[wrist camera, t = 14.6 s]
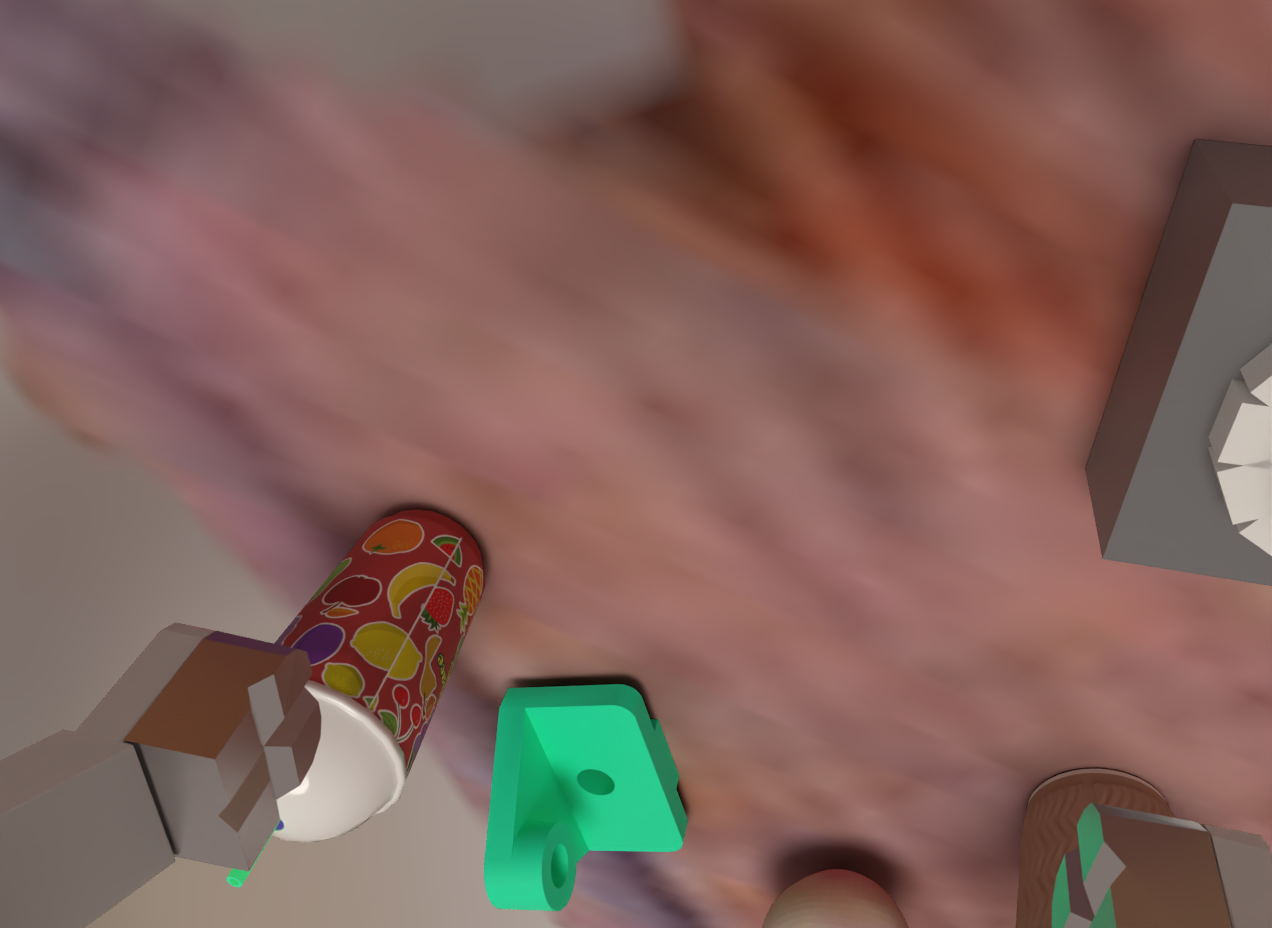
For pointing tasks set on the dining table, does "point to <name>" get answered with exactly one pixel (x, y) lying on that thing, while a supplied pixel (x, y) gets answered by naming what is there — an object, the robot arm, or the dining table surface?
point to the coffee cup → (1068, 830)
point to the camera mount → (574, 789)
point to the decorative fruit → (834, 903)
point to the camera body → (1197, 385)
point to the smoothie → (378, 667)
